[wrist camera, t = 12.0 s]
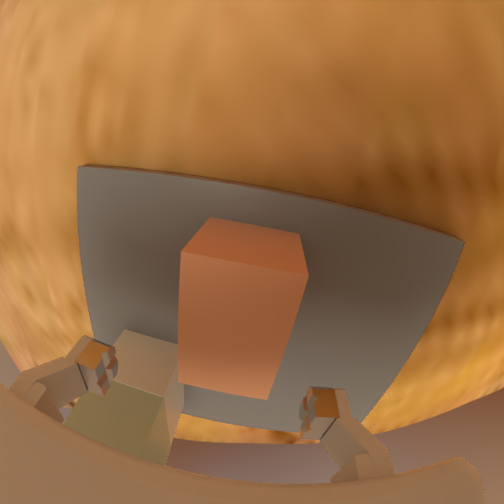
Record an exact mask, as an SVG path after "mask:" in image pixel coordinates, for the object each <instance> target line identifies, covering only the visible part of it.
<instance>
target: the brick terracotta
mask: <svg viewBox="0 0 504 504" xmlns="http://www.w3.org/2000/svg"><path fill="white" fill-rule="evenodd" d="M308 277H309V275H308V270H307V265H306V261H305V256H304V252H303V247H302V243H301V239H300V234H298V233H293V232H288V231H283V230H278V229H273V228H268V227H262V226H257V225H252V224H247V223H241V222H236V221H230V220H225V219H219V218H214V217H210V218H209V219H208V220H207V221H206V222H205V223H204V225H203V226H202V227H201V228H200V229H199V230H198V232H197V233H196V234H195V235H194V236H193V238H192V239H191V240H190V241H189V242H188V244H187V245H186V246H185V247H184V248H183V250H182V251H181V261H180V279H179V304H178V382H180V383H184V384H188V385H192V386H196V387H200V388H204V389H209V390H214V391H218V392H223V393H228V394H233V395H239V396H245V397H251V398H257V399H264V400H267V399H268V396H269V393H270V391H271V388H272V385H273V383H274V380H275V377H276V375H277V372H278V369H279V366H280V363H281V361H282V358H283V355H284V352H285V349H286V346H287V343H288V340H289V337H290V334H291V331H292V328H293V325H294V322H295V319H296V316H297V313H298V310H299V306H300V303H301V300H302V297H303V294H304V290H305V287H306V284H307V280H308Z"/></svg>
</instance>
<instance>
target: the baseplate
mask: <svg viewBox="0 0 504 504" xmlns="http://www.w3.org/2000/svg"><path fill="white" fill-rule="evenodd" d="M77 213H78V233H79V246H80V256H81V265H82V273H83V281H84V287H85V294H86V300H87V305H88V310H89V315H90V320H91V325H92V330H93V334H94V338H95V339H96V340H98V341H101V342H104V343H106V344H109V345H111V346H114V347H115V350H116V353H115V355H114V356H115V357H116V358H117V360H118V371H117V375H116V376H115V378H114V379H113V380H115V381H117V382H120V383H123V384H125V385H128V386H131V387H134V388H137V389H140V390H143V391H146V392H149V393H152V394H155V395H158V396H162V397H164V400H165V409H166V417H167V424H168V431H169V437H170V444H171V443H172V440H173V437H174V434H175V431H176V428H177V424H178V421H179V418H180V415H181V413H183V414H187V415H191V416H195V417H199V418H204V419H208V420H213V421H218V422H223V423H228V424H234V425H239V426H246V427H252V428H260V429H268V430H277V431H287V432H300V425H301V424H302V420H301V419H300V418H299V408H300V404H301V401H302V399H303V398H304V397H306V396H307V394H306V391H307V389H308V388H309V387H310V386H313V387H332V388H344V389H345V390H346V394H347V398H348V402H349V406H350V410H351V415H352V418H356V419H357V420H358V421H359V422H360V423H361V422H362V421H363V420H364V418H365V417H366V416H367V415H368V414H369V412H370V411H371V410H372V409H373V407H374V406H375V405H376V403H377V402H378V401H379V400H380V398H381V397H382V396H383V394H384V393H385V392H386V390H387V389H388V388H389V386H390V385H391V383H392V382H393V380H394V379H395V378H396V376H397V375H398V373H399V372H400V370H401V369H402V367H403V366H404V364H405V363H406V361H407V360H408V358H409V356H410V355H411V353H412V352H413V350H414V348H415V347H416V345H417V343H418V342H419V340H420V338H421V337H422V335H423V333H424V331H425V329H426V328H427V326H428V324H429V322H430V320H431V318H432V316H433V315H434V313H435V311H436V309H437V307H438V305H439V303H440V301H441V299H442V296H443V294H444V292H445V290H446V288H447V286H448V283H449V281H450V279H451V276H452V274H453V272H454V269H455V267H456V264H457V262H458V259H459V257H460V254H461V251H462V249H463V246H464V243H465V242H464V241H462V240H461V239H459V238H458V237H455V236H452V235H449V234H446V233H443V232H440V231H437V230H434V229H431V228H428V227H424V226H421V225H418V224H415V223H411V222H408V221H405V220H401V219H398V218H394V217H391V216H387V215H383V214H380V213H376V212H372V211H369V210H365V209H361V208H357V207H353V206H349V205H345V204H341V203H337V202H332V201H328V200H324V199H320V198H315V197H311V196H306V195H301V194H297V193H292V192H287V191H282V190H277V189H272V188H267V187H261V186H256V185H250V184H245V183H239V182H233V181H227V180H221V179H214V178H208V177H201V176H194V175H187V174H179V173H171V172H163V171H154V170H145V169H135V168H125V167H113V166H100V165H83V166H78V171H77ZM210 217H214V218H219V219H225V220H230V221H236V222H241V223H247V224H252V225H257V226H262V227H268V228H273V229H278V230H283V231H288V232H293V233H298V234H300V239H301V243H302V247H303V252H304V256H305V261H306V265H307V270H308V275H309V277H308V280H307V284H306V287H305V290H304V294H303V297H302V300H301V303H300V306H299V310H298V313H297V316H296V319H295V322H294V325H293V328H292V331H291V334H290V337H289V340H288V343H287V346H286V349H285V352H284V355H283V358H282V361H281V363H280V366H279V369H278V372H277V375H276V377H275V380H274V383H273V385H272V388H271V391H270V393H269V396H268V399H267V400H264V399H257V398H251V397H245V396H239V395H233V394H228V393H223V392H218V391H214V390H209V389H204V388H200V387H196V386H192V385H188V384H184V383H180V382H178V304H179V279H180V261H181V251H182V250H183V248H184V247H185V246H186V245H187V244H188V242H189V241H190V240H191V239H192V238H193V236H194V235H195V234H196V233H197V232H198V230H199V229H200V228H201V227H202V226H203V225H204V223H205V222H206V221H207V220H208V219H209V218H210Z"/></svg>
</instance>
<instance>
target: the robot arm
mask: <svg viewBox="0 0 504 504" xmlns="http://www.w3.org/2000/svg"><path fill="white" fill-rule="evenodd" d="M115 353H116V350H115V347H114V346H111V345H109V344H106V343H104V342H101V341H98V340H96V339H93V338H91V337H88V336H86V335H84V336H82V337H81V338H80V340H79V341H78V342H77V343H76V345H75V346H74V347H73V348H72V350H71V351H70V352H69V353H68V355H67V356H66V357H60V358H58V359H55V360H52V361H50V362H47V363H45V364H42V365H39V366H37V367H34V368H31V369H28V370H26V371H23V372H22V373H21V375H20V376H19V377H18V378H17V380H16V381H15V382H14V383H13V385H12V386H11V387H10V389H8V388H6V387H5V386H4V385H2V384H1V383H0V504H488V501H487V496H486V492H485V488H484V484H483V481H482V478H481V475H480V473H479V471H478V470H477V469H476V468H474V467H473V466H472V465H471V464H469V463H468V462H467V461H465V460H464V459H462V458H461V457H455V458H451V459H448V460H445V461H442V462H439V463H436V464H433V465H429V466H426V467H422V468H419V469H415V470H411V471H406V472H402V473H398V474H395V473H394V469H393V465H392V461H391V457H390V453H389V450H388V449H387V448H386V447H385V446H384V445H383V444H382V443H380V442H379V441H378V440H377V439H376V438H375V437H374V436H373V435H372V434H371V433H370V432H369V431H368V430H367V429H366V428H365V427H364V426H363V425H362V424H361V423H360V422H359V421H358V420H357V419H356V418H352V415H351V410H350V406H349V402H348V398H347V394H346V390H345V389H344V388H332V387H313V386H310V387H309V388H308V389H307V391H306V394H307V396H306V397H304V398H303V399H302V401H301V404H300V408H299V418H300V419H301V420H302V424H301V425H300V436H301V439H309V440H320V442H321V443H322V445H323V446H324V448H325V449H326V450H327V452H328V453H329V454H330V456H331V457H332V459H333V460H334V461H335V463H336V464H337V465H338V467H339V468H340V469H341V470H340V471H339V472H337V473H336V474H335V475H334V476H332V477H331V478H330V479H331V483H318V484H279V483H262V482H250V481H241V480H233V479H225V478H219V477H213V476H208V475H203V474H198V473H193V472H188V471H184V470H180V469H176V468H172V467H168V466H165V465H161V464H158V463H155V462H151V461H148V460H145V459H142V458H139V457H136V456H133V455H130V454H128V453H125V452H122V451H120V450H117V449H115V448H112V447H110V446H107V445H105V444H103V443H100V442H98V441H96V440H93V439H91V438H89V437H87V436H85V435H83V434H81V433H79V432H77V431H75V430H73V429H71V428H69V427H67V426H65V425H63V424H62V423H63V421H64V419H63V416H62V415H61V413H60V412H59V410H58V409H59V408H61V407H63V406H65V405H66V404H68V403H70V402H71V401H73V400H75V399H76V398H78V397H80V396H81V395H83V394H85V393H86V392H88V391H90V392H92V393H95V394H97V395H100V396H103V397H104V396H105V394H106V393H107V391H108V389H109V387H110V384H109V381H111V380H113V379H114V378H115V376H116V375H117V371H118V360H117V358H116V357H115V356H114V355H115Z"/></svg>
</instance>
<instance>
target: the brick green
mask: <svg viewBox="0 0 504 504" xmlns="http://www.w3.org/2000/svg"><path fill="white" fill-rule="evenodd" d="M109 384H110V387H109V389H108V391H107V393H106V394H105V396H104V397H103V396H100V395H97V394H95V393H92V392H90V391H88V392H86V393H85V394H83V395H81V396H80V398H79V399H78V401H77V403H76V404H75V406H74V407H73V409H72V411H71V412H70V414H69V416H68V417H67V419H66V421H65V422H64V424H63V425H65V426H67V427H69V428H71V429H73V430H75V431H77V432H79V433H81V434H83V435H85V436H87V437H89V438H91V439H93V440H96V441H98V442H100V443H103V444H105V445H107V446H110V447H112V448H115V449H117V450H120V451H122V452H125V453H128V454H130V455H133V456H136V457H139V458H142V459H145V460H148V461H151V462H155V463H158V464H161V465H165V464H166V461H167V457H168V454H169V451H170V448H171V444H170V437H169V431H168V424H167V417H166V409H165V400H164V397H162V396H158V395H155V394H152V393H149V392H146V391H143V390H140V389H137V388H134V387H131V386H128V385H125V384H123V383H120V382H117V381H115V380H111V381H109Z"/></svg>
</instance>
